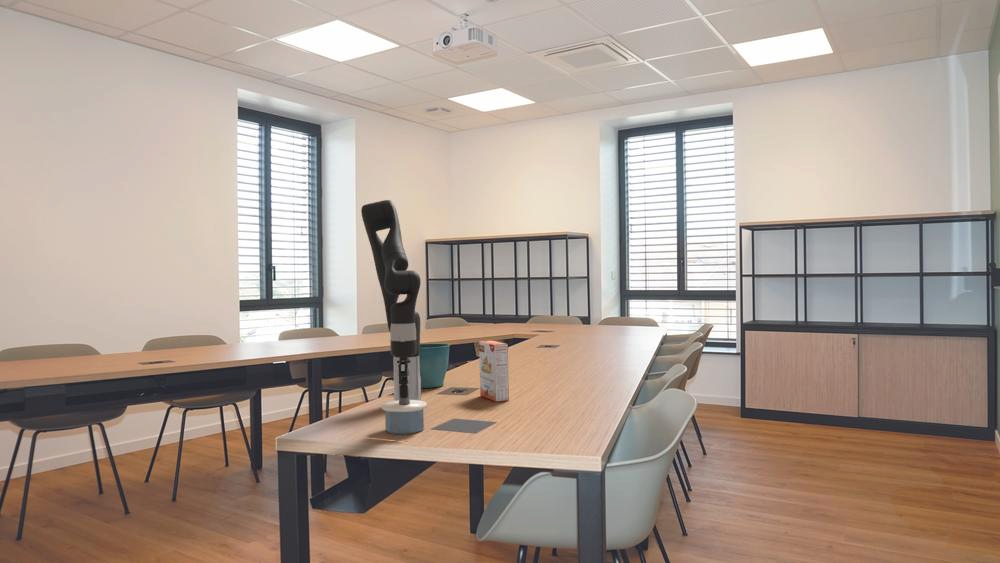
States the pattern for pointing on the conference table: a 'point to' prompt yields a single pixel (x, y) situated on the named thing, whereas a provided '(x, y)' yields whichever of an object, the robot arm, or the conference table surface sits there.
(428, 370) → the flower pot
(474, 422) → the mat
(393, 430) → the bowl
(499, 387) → the cracker box
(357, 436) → the conference table surface
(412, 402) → the lid
